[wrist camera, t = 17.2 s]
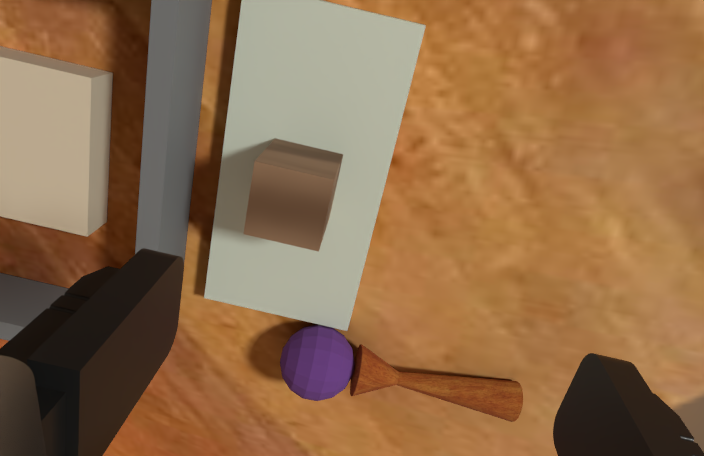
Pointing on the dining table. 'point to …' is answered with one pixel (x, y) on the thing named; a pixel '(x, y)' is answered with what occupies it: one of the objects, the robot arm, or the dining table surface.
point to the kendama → (382, 375)
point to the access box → (98, 146)
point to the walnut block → (292, 194)
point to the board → (315, 131)
